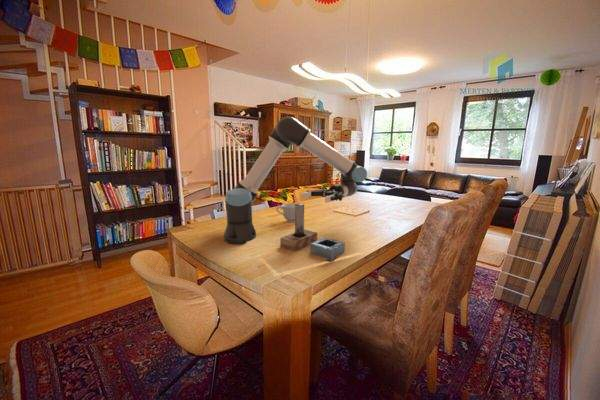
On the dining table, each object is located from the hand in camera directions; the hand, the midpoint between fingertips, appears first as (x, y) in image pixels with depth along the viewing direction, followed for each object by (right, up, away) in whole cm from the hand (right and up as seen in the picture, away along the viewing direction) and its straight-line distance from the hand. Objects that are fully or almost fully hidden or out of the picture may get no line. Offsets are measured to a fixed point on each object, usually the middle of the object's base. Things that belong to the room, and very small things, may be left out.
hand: (313, 197), depth 118 cm
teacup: (-13, -14, +34) cm, 39 cm away
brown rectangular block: (-6, -21, -3) cm, 23 cm away
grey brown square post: (-6, -20, -3) cm, 22 cm away
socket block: (+5, -23, -13) cm, 27 cm away
